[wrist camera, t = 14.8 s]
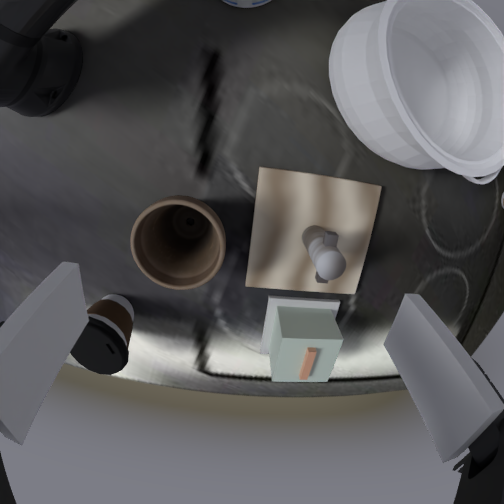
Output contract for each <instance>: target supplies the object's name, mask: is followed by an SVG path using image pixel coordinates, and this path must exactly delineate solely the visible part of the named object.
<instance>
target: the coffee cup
mask: <svg viewBox="0 0 504 504" xmlns="http://www.w3.org/2000/svg"><path fill="white" fill-rule="evenodd" d="M87 314H88V319H89V322H88V323H87V325H86V326H85V328H84V330H83V331H82V333H81V335H80V336H79V338H78V339H77V341H76V343H75V344H74V346H73V348H72V349H71V351H70V353H71V355H72V356H73V357H74V358H75V359H76V360H77V361H78V362H79V363H80V364H81V365H83V366H84V367H85V368H87V369H88V370H91V371H93V372H96V373H98V374H107V375H111V374H114V373H117V372H119V371H121V370H122V369H123V368H124V367H125V365H126V364H127V363H128V355H129V351H128V346H129V342H130V337H131V333H132V328H133V320H134V310H133V307H132V305H131V304H130V302H129V301H128V300H127V299H126V298H124V297H123V296H121V295H117V294H110V295H107V296H105V297H103V298H102V299H101V300H100V301H98V302H96V303H95V304H94V305H92V306H91V307H90V308H89V309H88V310H87Z"/></svg>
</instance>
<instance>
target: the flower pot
mask: <svg viewBox="0 0 504 504" xmlns="http://www.w3.org/2000/svg"><path fill="white" fill-rule="evenodd" d="M188 218H192V219H193V220H194V224H193V225H189V224H188V223H187V219H188ZM225 249H226V236H225V231H224V227H223V225H222V222H221V220H220V219H219V217H218V216H217V214H216V213H215V212H214V211H213V210H212V209H211V208H210V207H209V206H208V205H206V204H205V203H203V202H202V201H200V200H198V199H195V198H192V197H189V196H180V195H177V196H170V197H166V198H163V199H161V200H159V201H157V202H155V203H153V204H152V205H151V206H149V207H148V208H147V209H145V210H144V211H143V212H142V213H141V214H140V216H139V217H138V218H137V220H136V222H135V224H134V226H133V229H132V232H131V250H132V254H133V257H134V260H135V262H136V264H137V265H138V267H139V268H140V270H141V271H142V272H143V273H144V274H145V275H146V276H147V277H148V278H150V279H151V280H152V281H154V282H155V283H157V284H159V285H161V286H164V287H167V288H171V289H176V290H187V289H193V288H196V287H199V286H201V285H204V284H205V283H207V282H208V281H210V280H211V279H212V278H213V277H214V276H215V275H216V274H217V272H218V271H219V269H220V268H221V266H222V263H223V260H224V257H225Z"/></svg>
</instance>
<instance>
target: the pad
mask: <svg viewBox="0 0 504 504" xmlns="http://www.w3.org/2000/svg"><path fill="white" fill-rule="evenodd" d="M339 305H340V301H339V300H330V299H313V298H298V297H284V296H270V295H269V300H268V306H267V312H266V318H265V323H264V329H263V335H262V341H261V347H260V353H262V354H269V344H270V339H271V334H272V329H273V324H274V318H275V313H276V308H277V306H287V307H303V308H320V309H331V311H332V314H333V316H334V318H336V315H337V311H338V308H339Z"/></svg>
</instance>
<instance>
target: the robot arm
mask: <svg viewBox="0 0 504 504" xmlns="http://www.w3.org/2000/svg"><path fill="white" fill-rule="evenodd" d="M76 1H77V0H0V107H8V108H10V109H12V110H14V111H15V112H17V113H19V114H21V115H24V116H28V117H37V116H44V115H47V114H49V113H51V112H53V111H54V110H56V109H57V108H58V107H60V106H61V105H62V104H63V103H64V102H65V100H66V99H67V98H68V97H69V95H70V94H71V92H72V90H73V89H74V87H75V85H76V83H77V80H78V78H79V75H80V72H81V67H82V48H81V45H80V43H79V41H78V39H77V38H76V37H75V36H74V35H73V34H71V33H69V32H67V31H64V30H61V29H50V28H51V27H52V26H53V24H54V23H55V22H56V21H57V20H58V19H59V18H60V17H61V16H62V15H63V14H64V13H65V12H66V11H67V10H68V9H69V8H70V7H71V6H72V5H73V4H74V3H75V2H76ZM88 322H89V319H88V314H87V309H86V304H85V299H84V294H83V288H82V282H81V276H80V270H79V264H77V263H70V262H62V263H61V264H60V265H59V266H58V267H57V268H56V269H55V270H54V271H53V272H52V273H51V274H50V275H49V276H48V277H47V278H46V279H45V280H44V281H43V282H42V283H41V284H40V285H39V286H38V287H37V288H36V289H35V290H34V291H33V292H32V293H31V294H30V295H29V296H28V297H27V298H26V299H25V300H24V301H23V303H22V304H21V305H20V306H19V307H18V308H17V309H16V310H15V311H14V312H13V314H12V315H11V316H10V317H9V318H8V319H7V320H6V322H4V321H2V322H1V323H0V432H1V433H2V434H3V435H4V436H5V437H6V438H8V439H10V440H12V441H14V442H16V443H18V444H20V445H22V444H23V442H24V440H25V438H26V436H27V433H28V431H29V429H30V427H31V425H32V422H33V420H34V418H35V416H36V414H37V412H38V410H39V408H40V406H41V404H42V402H43V400H44V398H45V396H46V394H47V393H48V391H49V389H50V387H51V385H52V383H53V381H54V379H55V377H56V375H57V374H58V372H59V370H60V368H61V367H62V365H63V363H64V362H65V360H66V358H67V356H68V355H69V353H70V351H71V349H72V348H73V346H74V344H75V343H76V341H77V339H78V338H79V336H80V335H81V333H82V331H83V330H84V328H85V326H86V325H87V323H88ZM384 346H385V348H386V350H387V351H388V353H389V355H390V357H391V359H392V360H393V362H394V364H395V366H396V368H397V370H398V372H399V373H400V375H401V377H402V379H403V381H404V383H405V385H406V387H407V389H408V391H409V393H410V395H411V397H412V399H413V400H414V402H415V404H416V406H417V408H418V410H419V413H420V414H421V417H422V419H423V421H424V423H425V424H426V427H427V429H428V431H429V433H430V435H431V438H432V440H433V442H434V444H435V446H436V449H437V451H438V453H439V455H440V457H441V460H442V462H443V463H444V462H446V461H449V460H451V459H454V458H456V457H458V456H459V455H460V454H461V453H462V452H464V451H465V450H466V449H467V448H469V450H470V453H469V454H467V455H466V456H465V457H464V458H463V459H462V460H461V461H460V462H458V463H457V464H456V465H455V466H454V468H453V470H454V471H455V470H456V469H458V468H459V467H460V466H461V465H462V464H464V466H463V467H462V468H460V470H459V471H458V472H460V473H462V475H461V479H460V482H459V486H458V490H457V494H456V497H455V500H454V504H504V399H503V398H502V396H501V395H500V394H499V392H498V390H497V389H496V388H495V386H494V385H493V383H492V382H490V379H489V378H488V376H487V375H486V374H484V371H483V369H482V368H481V367H480V365H479V364H478V363H477V362H476V361H475V360H474V359H472V358H471V357H470V356H469V355H468V353H467V352H466V351H465V349H464V348H463V347H462V345H461V344H460V343H459V342H458V340H457V339H456V338H455V337H454V335H453V334H452V333H451V332H450V330H449V329H448V328H447V327H446V325H445V324H444V323H443V322H442V321H441V319H440V318H439V317H438V316H437V315H436V313H435V312H434V311H433V310H432V309H431V308H430V306H429V305H428V304H427V303H426V302H425V301H424V299H423V298H422V297H421V296H420V295H419V294H405V296H404V298H403V301H402V303H401V306H400V308H399V311H398V313H397V315H396V318H395V320H394V322H393V325H392V327H391V329H390V331H389V334H388V336H387V338H386V340H385V342H384ZM0 504H16V501H15V499H14V496H13V493H12V490H11V487H10V485H9V481H8V478H7V475H6V472H5V468H4V465H3V461H2V457H1V453H0Z"/></svg>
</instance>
